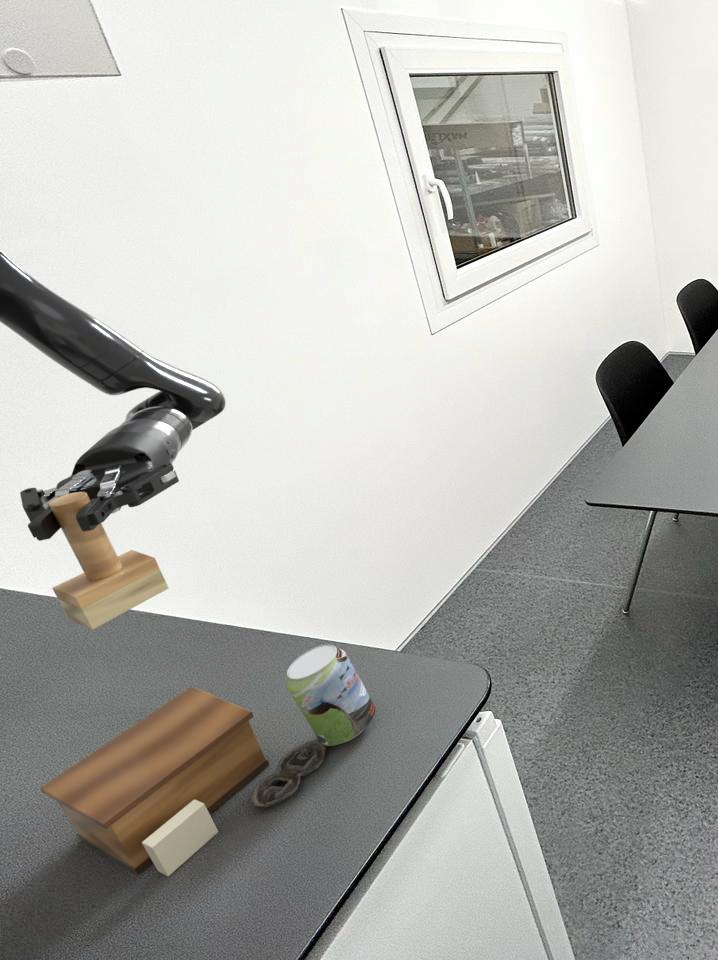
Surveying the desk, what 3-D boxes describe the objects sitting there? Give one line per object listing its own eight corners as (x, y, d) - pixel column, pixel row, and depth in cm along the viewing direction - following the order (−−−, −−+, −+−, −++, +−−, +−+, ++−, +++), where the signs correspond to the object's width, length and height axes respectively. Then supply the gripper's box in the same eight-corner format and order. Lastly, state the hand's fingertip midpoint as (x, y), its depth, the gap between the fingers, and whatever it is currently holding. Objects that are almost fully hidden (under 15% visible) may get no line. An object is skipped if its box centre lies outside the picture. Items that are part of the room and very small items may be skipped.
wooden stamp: (69, 619, 71) (10, 512, 66) (146, 580, 77) (98, 478, 72) (92, 629, 70) (34, 520, 64) (169, 588, 76) (121, 485, 70)
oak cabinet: (74, 842, 66) (39, 788, 63) (215, 736, 78) (191, 686, 75) (136, 879, 63) (102, 824, 60) (274, 763, 74) (251, 711, 71)
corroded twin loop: (240, 809, 69) (237, 803, 69) (302, 743, 76) (300, 737, 76) (281, 814, 68) (278, 808, 68) (339, 747, 76) (337, 741, 76)
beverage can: (384, 728, 78) (364, 651, 75) (312, 768, 73) (287, 687, 70) (369, 700, 82) (350, 626, 79) (301, 736, 77) (277, 658, 74)
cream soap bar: (141, 842, 62) (151, 847, 61) (194, 798, 66) (204, 803, 65) (158, 871, 63) (168, 876, 63) (208, 827, 67) (218, 832, 67)
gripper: (43, 443, 76) (-53, 516, 62) (192, 419, 82) (136, 481, 68) (69, 495, 79) (-17, 577, 65) (211, 469, 85) (161, 538, 71)
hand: (62, 527), depth 66 cm, fingers closed on wooden stamp, 3 cm apart
